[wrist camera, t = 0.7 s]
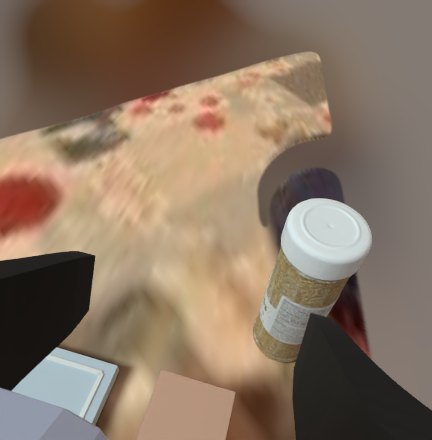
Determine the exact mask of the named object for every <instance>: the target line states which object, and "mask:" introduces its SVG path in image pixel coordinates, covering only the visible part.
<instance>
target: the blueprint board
mask: <svg viewBox="0 0 432 440" xmlns="http://www.w3.org/2000/svg"><path fill="white" fill-rule="evenodd" d="M118 373H119V368H118V366H117V365H114V364H110V363H107V362H104V361H100V360H97V359H94V358H90V357H87V356H84V355H81V354H77V353H74V352H71V351H67V350H64V349H61V348H57V347H56V348H55V349H54V350H53V351H52V352H51V353H50V354H49V355H48V356H47V357H46V358H45V359H44V360H43V361H42V362H41V363H39V364H38V365H37V366H36V367H35V368H34V369H33V370H32V371H31V372H30V373H29V374H28V375H27V376H26V377H25V378H24V379H23V380H22V381H21V382H20V383H19V384H18V385H17V386H16V387H15V388H14V389H13V390H12V392H15V393H18V394H21V395H24V396H28V397H31V398H34V399H37V400H40V401H43V402H46V403H49V404H52V405H55V406H58V407H61V408H64V409H68V410H69V411H71V412H73V413H75V414H76V415H78V416H80V417H81V418H83V419H85V420H87V421H88V422H90V423H92V424H94V425H96V423H97V421H98V418H99V416H100V414H101V412H102V409H103V407H104V405H105V402H106V400H107V398H108V396H109V393H110V391H111V389H112V387H113V384H114V382H115V380H116V378H117V375H118Z"/></svg>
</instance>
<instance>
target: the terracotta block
mask: <svg viewBox="0 0 432 440" xmlns="http://www.w3.org/2000/svg"><path fill="white" fill-rule="evenodd" d="M235 393H236V392H234V391H230V390H227V389H224V388H220V387H217V386H214V385H210V384H207V383H204V382H200V381H197V380H193V379H190V378H187V377H183V376H180V375H177V374H173V373H170V372H167V371H163V370H161V372H160V375H159V378H158V380H157V383H156V386H155V389H154V391H153V394H152V397H151V400H150V402H149V405H148V408H147V411H146V413H145V416H144V419H143V422H142V424H141V427H140V430H139V433H138V435H137V438H136V440H226V435H227V430H228V426H229V421H230V416H231V412H232V407H233V402H234V397H235Z"/></svg>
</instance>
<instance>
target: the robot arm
mask: <svg viewBox="0 0 432 440" xmlns="http://www.w3.org/2000/svg"><path fill="white" fill-rule="evenodd" d="M94 262H95V256H94V255H91V254H87V253H83V252H79V251H69V252H59V253H52V254H45V255H39V256H32V257H26V258H19V259H11V260H4V261H0V440H108V439H107V437H106V436H105V435H104V433H103V432H102V430H101V429H100V428H99V427H97V426H95V425H94V424H92V423H90V422H88V421H87V420H85V419H83V418H81V417H80V416H78V415H76V414H75V413H73V412H71V411H69V410H68V409H64V408H61V407H58V406H55V405H52V404H49V403H46V402H43V401H40V400H37V399H34V398H31V397H28V396H24V395H21V394H18V393H15V392H12V390H13V389H14V388H15V387H16V386H17V385H18V384H19V383H20V382H21V381H22V380H23V379H24V378H25V377H26V376H27V375H28V374H29V373H30V372H31V371H32V370H33V369H34V368H35V367H36V366H37V365H38V364H39V363H41V362H42V361H43V360H44V359H45V358H46V357H47V356H48V355H49V354H50V353H51V352H52V351H53V350H54V349H55V348H56V347H57V346H58V345H59V344H60V343H61V342H62V341H63V340H65V339H66V338H67V337H68V336H69V335H70V334H71V333H72V331H73V330H74V329H75V328H76V326H77V325H78V324H79V323H80V321H81V320H82V319H83V317H84V316H85V315H86V313H87V312H88V311H89V304H90V296H91V288H92V279H93V271H94ZM293 409H294V420H295V431H296V440H432V410H430V409H429V408H428V407H426V406H425V405H423V404H422V403H421V402H420V401H418V400H417V399H416V398H414V397H413V396H412V395H411V394H409V393H408V392H407V391H406V390H404V389H403V388H402V387H401V386H399V385H398V384H397V383H396V382H395V381H394V380H392V379H391V378H390V377H389V376H388V375H387V374H386V373H385V372H384V371H382V369H381V368H379V367H378V366H377V365H376V364H375V363H374V362H373V361H372V360H371V359H370V358H369V357H368V356H367V355H366V354H365V353H364V352H363V351H362V350H361V349H360V348H359V347H358V346H357V345H356V344H355V342H354V341H353V340H352V339H351V338H350V337H349V336H348V335H347V334H346V333H345V332H344V331H343V330H342V329H341V327H340V326H339V325H338V324H337V323H336V322H335V321H334V320H332V319H331V318H329V317H325V316H321V315H317V314H314V313H310V316H309V320H308V323H307V326H306V330H305V333H304V336H303V340H302V343H301V347H300V350H299V353H298V357H297V360H296V363H295V367H294V376H293Z"/></svg>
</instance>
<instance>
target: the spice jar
mask: <svg viewBox="0 0 432 440" xmlns="http://www.w3.org/2000/svg"><path fill="white" fill-rule="evenodd" d="M281 245H282V246H281V249H280V252H279V255H278V258H277V261H276V264H275V267H274V269H273V271H272V274H271V276H270V280H269V282H268V285H267V288H266V291H265V294H264V297H263V300H262V303H261V307H260V312H259V316H258V317H257V318H256V320H255V323H254V327H253V336H254V340H255V342H256V345H257V346H258V348H259V349H260V350H261V351H262V352H263V353H264V354H265V355H266V356H267V357H268V358H270V359H272V360H276V361H278V362H293V361H295V360H297V357H298V353H299V350H300V347H301V343H302V340H303V336H304V333H305V330H306V326H307V323H308V320H309V316H310V313H314V314H317V315H321V316H325V317H327V315H328V314H329V312H330V310H331V309H332V307H333V305H334V304H335V302H336V301H337V299H338V297H339V295H340V292H341V291H342V289H343V287H344V286H345V284H346V282H347V281H348V279H349V277H350V276H351V275H353V274H354V273H355V272H356V271H357V270H358V269H359V267H360V266H361V264H362V263H363V261H364V259H365V258H366V256H367V254H368V252H369V250H370V248H371V245H372V234H371V230H370V228H369V226H368V224H367V222H366V221H365V220H364V218H363V217H362V216H361V215H360V214H359V213H358V212H356V211H355V210H354V209H352V208H351V207H349V206H347V205H345V204H343V203H341V202H338V201H335V200H330V199H322V198H316V199H309V200H306V201H303V202H301V203H299V204H298V205H296V206H295V207H294V208H293V209H292V210H291V211H290V213H289V215H288V217H287V220H286V223H285V226H284V229H283V232H282V236H281Z"/></svg>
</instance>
